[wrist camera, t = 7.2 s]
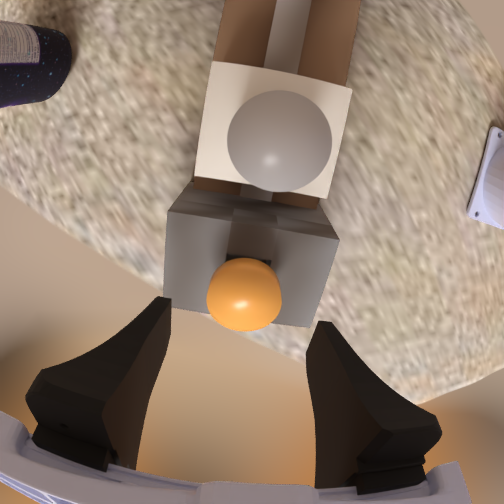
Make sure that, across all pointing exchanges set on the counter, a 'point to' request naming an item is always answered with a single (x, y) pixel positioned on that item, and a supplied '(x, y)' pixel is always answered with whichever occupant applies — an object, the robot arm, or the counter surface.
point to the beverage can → (31, 63)
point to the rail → (249, 196)
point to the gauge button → (244, 294)
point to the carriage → (271, 129)
